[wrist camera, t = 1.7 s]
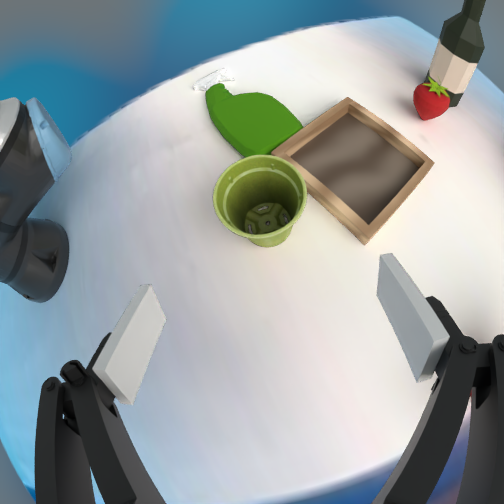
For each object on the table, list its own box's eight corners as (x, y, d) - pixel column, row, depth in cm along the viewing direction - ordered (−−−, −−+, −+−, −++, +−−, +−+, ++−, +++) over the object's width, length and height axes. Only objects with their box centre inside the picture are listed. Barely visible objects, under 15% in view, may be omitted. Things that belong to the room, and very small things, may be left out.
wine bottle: (461, 99, 37) (504, -7, 8) (451, 113, 36) (501, -7, 7) (430, 76, 39) (461, -32, 11) (417, 88, 38) (451, -36, 10)
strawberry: (398, 110, 37) (412, 68, 28) (425, 104, 37) (441, 66, 28) (418, 134, 35) (438, 93, 26) (445, 127, 35) (465, 90, 26)
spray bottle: (251, 172, 38) (184, 95, 46) (311, 137, 38) (231, 71, 46) (247, 160, 35) (179, 85, 43) (311, 124, 35) (228, 60, 43)
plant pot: (242, 271, 34) (226, 251, 25) (223, 205, 36) (204, 171, 28) (315, 246, 33) (321, 219, 25) (289, 183, 36) (286, 144, 28)
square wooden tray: (272, 162, 37) (270, 152, 35) (345, 107, 39) (347, 96, 36) (364, 245, 32) (369, 238, 30) (428, 171, 34) (434, 162, 31)
